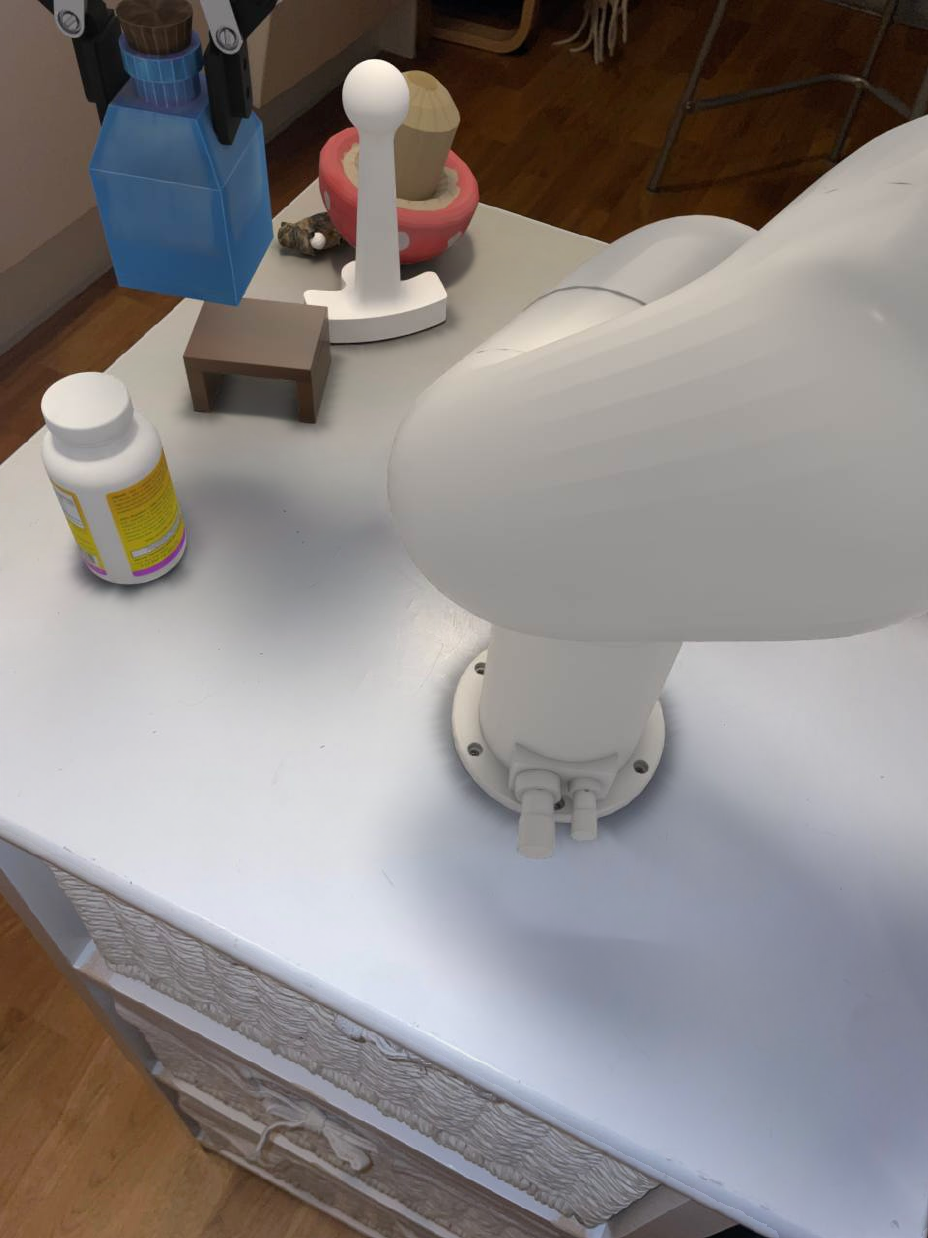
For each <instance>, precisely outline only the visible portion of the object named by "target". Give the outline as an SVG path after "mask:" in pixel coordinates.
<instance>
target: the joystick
mask: <svg viewBox="0 0 928 1238" xmlns="http://www.w3.org/2000/svg"><path fill="white" fill-rule="evenodd" d="M401 73H402V72H401V71H400V70H399V69H398V68H397V67H396V66H395V65H393V64H391V62H389V61H386V60H382V59H377V58H373V59H366V60H364V61H361V62H359V63H357V64H356V65H355V66H354V67H353V68H352V69H351V70H350V71H349V73H348V74H347V76H346V78H345V80H344V83H343V86H342V94H341V95H342V96H341V99H342V106H343V109H344V112H345V115H346V116H347V118H348V121H349V122H350V123H351V124H352V125H353V127H356V129H357V131H358V134H359V171H358V202H357V232H356V249H355V260H352V261H349V262H348V263H346V264H345V265H344V266H343V267H342V269H341V274H340V275H341V290H319V289H308V290H306V291H305V292H303V304H307V305H316V306H326V307H328V321H329V336H330V344H351V343H352V344H353V343H366V342H367V343H368V342H376V341H382V340H383V341H384V340H388V339H393V338H397V337H403V336H406V335H410V334H414V333H417V332H420V331H423V330H426V329H429V328H431V327H434V326H436V325H439V324H441V323H443V322H445V321H446V319H447V308H448V307H447V306H448V293H447V291H446V289H445V287H444V285H443V283H442V281H441V280H440V278H439V276H438V274H437V273H436V272H433V271H424V272H423V273H420V274H418V275H416V276H414V277H411V278H409V279H406V280H405V279H404V280H401V264H400V263H399V243H398V223H397V203H396V183H395V163H394V135H395V132H396V130H397V129H398V127H399V126H400V125H401V124H402V123H403V121H404V120H405V118H406V116H407V113H408V110H409V104H410V94H409V89H408V85H407V83H406V80H405V79H404V77H403V75H402V74H401Z"/></svg>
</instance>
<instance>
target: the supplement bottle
mask: <svg viewBox="0 0 928 1238" xmlns="http://www.w3.org/2000/svg"><path fill="white" fill-rule="evenodd" d="M40 408H41V409H40V410H41V413H42V416H43V419H44V422H45V425H46V427H47V431H46V432H45V434H44V436H43V438H42V441H41V446H40V447H41V449H40V457H41V460H42V461H41V462H42V465H43V467H44V470H45V472H46V474H47V476H48V479H49V482H50V483H51V486H52V488H53V490H54V493H55V495H56V497H57V500H58V502H59V505H60V507H61V509H62V512H63V514H64V517H65V521H66V522H67V524H68V526H69V528H70V531H71V534H72V536H73V538H74V541H75V543H76V545H77V548H78V551H79V552H80V555H81V557H82V560H83V561H84V563H85V564H86V566H87V567H88V569H89V570H90V571H91V572H92V573H93V574H95V575H96V576H97V577H98V578H100V579H102V580H105V581H107V582H109V583H113V584H119V585H139V584H144V583H149V582H151V581H154V580H156V579H159V578H161V577H162V576H164V575H166V574H167V573H168V572H170V571H171V570H172V569H173V568H175V566H176V565H177V564H178V563H179V561H180V560H181V558H182V557H183V555H184V553H185V550H186V548H187V547H186V545H187V531H186V526H185V523H184V519H183V515H182V512H181V508H180V504H179V502H178V498H177V495H176V491H175V490H176V489H175V487H174V483H173V480H172V476H171V473H170V468H169V465H168V461H167V458H166V455H165V451H164V447H163V443H162V439H161V436H160V433H159V430H158V429H157V427H156V426H155V424H154V422H152V420H151V419H150V417H148V416H147V414H144V413H143V412H142V411H141V410H139V409H137V408H135V407H134V404H133V401H132V398H131V394H130V391H129V389H128V388H127V386H126V384H125V383H124V381H122V380H120V379H119V378H117V377H116V376H113V375H111V374H108V373H105V372H99V371H86V372H78V373H74V374H70V375H67V376H65V377H62V378H60V379H59V380H57V381H56V382H54V383H53V384H51V385H50V386H49V387H48V388H47V390H46V391H45V392H44V394H43V396H42V399H41V403H40Z"/></svg>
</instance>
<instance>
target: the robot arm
mask: <svg viewBox="0 0 928 1238" xmlns="http://www.w3.org/2000/svg"><path fill="white" fill-rule="evenodd" d="M198 1H199V3H200V6H201V10H202V12H203V15H204V18H205V21H206V23H207V27H208V29H209V30H208V39H209V40H208V43H207V46H206V48H205V50H204V52H203V63H204V66H203V69H204V70H203V71H204V73H205V77H206V84H207V91H208V98H209V105H210V112H211V118H212V125H213V130H214V132H215V133H216V135H217V137H218V141H219V142H220V143H221V144H222V145H232V143H233V141H234V138H235V136H236V133H237V130H238V128H239V125H240V122H241V120H242V118H246V119H249V118H250V115H251V112H252V111H253V107H254V106H253V105H254V104H253V103H254V97H253V96H254V95H253V87H252V85H253V84H252V78H251V77H252V76H251V67H250V59H249V48H248V38H249V37H250V36H251V35H252V34H253V33H254V32H255V30H256V29H257V28H258V27H259V26H260V25H261V24H262V23H263V22H264V21H265V20H266V18H267V17H268V16H269V15H270V14H271V13H272V12H273V11H274V9H275V8H276V6H277V5H278V4H280V3H281V2H283V1H284V0H198ZM37 2H39V3H40V4H41V5H42V6H43V7H44V8H45V9H46V10H47V11H48V12H50V14H52V15H53V17H54V22H55V25H56V27H57V29H58V30H59V31H60V32H61V33H62V34H63V35H65V36H66V37H68V38H71V43H72V46H73V50H74V54H75V58H76V63H77V66H78V70H79V75H80V78H81V83H82V87H83V91H84V95H85V98H86V100H87V102H88V103H93V104H95V107H96V111H97V116H98V119H99V123H100V128H101V127H102V124H103V121H104V118H105V114H106V111H107V108H108V105H109V104H110V103H111V102H112V100H113V99H114V98H115V96H116V95H117V94H118V93H119V91H120V90H121V89H122V88H123V86H124V85H125V84H126V83H127V82H128V80H129V79H130V78H131V77H132V76H131V75H129V74H128V72H127V71H126V70H125V69H124V65H123V60H122V55H121V51H120V46H119V41H118V40H119V38H120V36H121V34H122V33H123V29H122V27H121V24H120V22H119V19H118V17H117V15H116V12H115V9H114V8H108V7H107V3H106V2H105V1H104V0H37ZM386 486H387V487H386V488H387V500H388V507H389V512H390V517H391V519H392V523H393V525H394V528H395V531H396V534H397V536H398V538H399V540H400V543H401V545H402V547H403V549H404V550H405V552H406V554H407V556H408V557H409V559H410V561H411V562H412V564H414V566H415V567H416V569H417V570H418V571H419V572H420V574H421V575H422V576H423V577H424V578H425V580H426V581H427V582H429V583H430V585H431V586H433V587H434V588H435V589H436V590H437V591H438V592H439V593H440V594H441V595H443V596H444V597H445V598H447V600H449V601H450V602H452V603H454V604H455V605H456V606H457V607H459V608H461V609H463V610H464V611H467V613H469V614H471V615H473V616H475V617H476V618H479V619H481V620H483V621H485V622H487V623H490V624H491V627H490V633H489V640H488V645H487V646H488V647H487V648H485V649H484V650H483V651H481V652H480V653H479V654H478V655H477V656H476V657H474V659H472V661H471V662H469V664H468V665H467V667H466V668H465V670H464V672H463V674H462V675H461V677H460V679H459V681H458V683H457V687H456V689H455V693H454V695H453V700H452V707H451V733H452V738H453V742H454V747H455V749H456V752H457V754H458V756H459V758H460V762H461V763H462V765H463V767H464V768H465V770H466V772H467V773H468V774H469V776H470V777H471V778H472V779H473V782H474V783H476V784H477V785H478V786H479V787H480V788H481V789H482V790H483V791H484V792H485V793H486V795H488V796H489V797H490V798H492V799H494V800H495V801H496V802H498V803H500V804H501V805H503V806H504V807H505V808H507V809H509V810H512V811H514V812H516V813H518V814H520V817H519V819H518V835H517V854H519V856H521V857H523V858H526V859H530V860H546V859H547V860H548V859H549V858H552V857H553V856H554V855H555V850H556V849H555V848H556V847H555V844H556V823H561V824H562V823H564V824H565V823H566V824H570V825H571V826H570V836H571V838H572V839H574V840H577V841H580V842H591V841H594V840H595V839H597V838H598V819H600V818H603V817H605V816H609V815H612V814H614V813H615V812H617V811H619V810H621V809H622V808H624V807H626V806H627V805H629V804H630V803H631V802H632V801H633V800H634V799H635V798H637V797H638V796H639V795H640V794H642V792H643V790H644V789H645V788H646V786H647V785H648V784H649V783H650V781H651V779H652V778H653V776H654V775H655V772H656V770H657V768H658V766H659V764H660V761H661V758H662V755H663V751H664V748H665V740H666V739H665V738H666V725H665V724H666V723H665V718H664V717H665V716H664V711H663V707H662V705H661V703H660V700H659V698H660V697H659V696H660V695H661V692H662V691H663V688H664V686H665V683H666V681H667V679H668V677H669V675H670V673H671V670H672V668H673V666H674V663H675V662H676V659H677V657H678V655H679V653H680V650H681V648H682V646H683V644H684V643H687V642H688V643H689V642H690V643H691V642H695V643H696V642H697V643H699V642H702V643H705V642H707V643H710V642H713V643H715V642H724V643H725V642H794V641H798V642H799V641H816V640H817V641H818V640H830V639H831V640H833V639H839V638H848V637H849V638H850V637H852V636H853V637H854V636H857V635H863V634H867V633H871V632H876V631H880V630H883V629H886V628H890V627H892V626H895V625H899V624H901V623H905V622H907V621H910V620H912V619H914V618H918V617H920V616H922V615H925V614H927V613H928V114H925V115H923V116H920V117H918V118H916V119H913V120H911V121H908V122H906V123H902V124H901V125H897V126H896V127H893V128H892V129H890V130H887V131H885V132H884V133H882V134H880V135H878V136H876V137H874V138H872V139H871V140H870V141H868V142H867V143H865V144H864V145H862V146H860V147H859V148H857V149H856V150H855V151H854V152H853V153H851V154H850V155H848V156H847V157H845V158H844V159H843V160H841V161H840V162H839V163H837V164H836V165H834V166H833V167H832V168H830V170H828V171H827V172H826V173H824V174H823V175H822V176H821V177H819V178H818V179H817V180H815V182H813V183H812V184H810V185H809V186H808V187H807V188H806V189H805V190H803V191H802V193H800V194H799V195H798V196H797V197H796V198H795V199H793V200H792V201H791V202H790V203H789V204H787V206H785V207H784V208H783V209H782V210H781V211H779V213H777V214H776V215H775V216H773V218H772V219H770V220H769V221H768V222H767V223H766V224H765V225H763V227H762V228H760V229H759V230H756V229H755V228H753V227H751V226H750V225H746V224H743V223H741V222H739V221H736V220H734V219H730V218H726V217H721V216H716V215H706V214H692V215H691V214H689V215H679V216H674V217H673V216H672V217H669V218H664V219H661V220H658V221H655V222H651V223H648V224H645V225H644V226H641V227H639V228H637V229H635V230H633V231H631V232H628V233H626V234H625V235H623V236H621V237H619V238H618V239H616V240H614V241H612V242H610V243H609V244H608V245H606V246H605V247H603V248H602V249H600V250H599V251H597V252H596V253H594V254H593V255H592V256H591V257H589V258H588V259H586V260H585V261H583V262H582V263H581V264H580V265H579V266H578V267H575V269H574V270H572V271H571V272H570V273H569V274H567V275H566V276H564V277H563V278H562V279H560V281H558V282H557V283H556V284H554V285H553V286H552V287H550V288H549V289H548V290H546V291H545V292H544V293H543V294H541V295H540V296H538V297H537V298H536V299H535V300H534V301H533V302H530V304H528V305H527V306H526V307H525V308H524V309H523V311H522V312H520V313H519V314H518V315H517V316H515V317H514V318H513V319H511V320H510V321H508V322H507V324H505V325H504V326H502V327H501V328H500V329H498V330H497V331H496V332H494V334H492V335H491V336H489V337H488V338H487V339H485V340H484V341H483V342H482V343H480V344H479V345H478V346H477V347H476V348H474V349H473V350H471V351H470V352H469V353H467V354H466V355H465V356H464V357H462V358H461V359H460V360H459V361H458V362H456V363H455V364H454V365H452V366H451V367H450V368H448V369H447V370H446V371H445V372H444V373H443V374H442V375H440V376H439V377H438V378H437V379H435V380H434V381H433V382H432V383H431V384H430V385H429V386H428V387H427V388H426V389H425V390H424V391H423V392H421V394H420V395H418V397H417V398H416V399H415V400H414V402H413V403H412V405H411V406H410V407H409V408H408V410H407V412H406V413H405V415H404V416H403V418H402V419H401V421H400V424H399V425H398V428H397V430H396V433H395V436H394V438H393V441H392V444H391V448H390V453H389V457H388V463H387V481H386ZM472 754H475V755H472ZM638 771H639V772H638ZM555 806H556V807H557V808H558V809H556V808H555Z"/></svg>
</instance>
